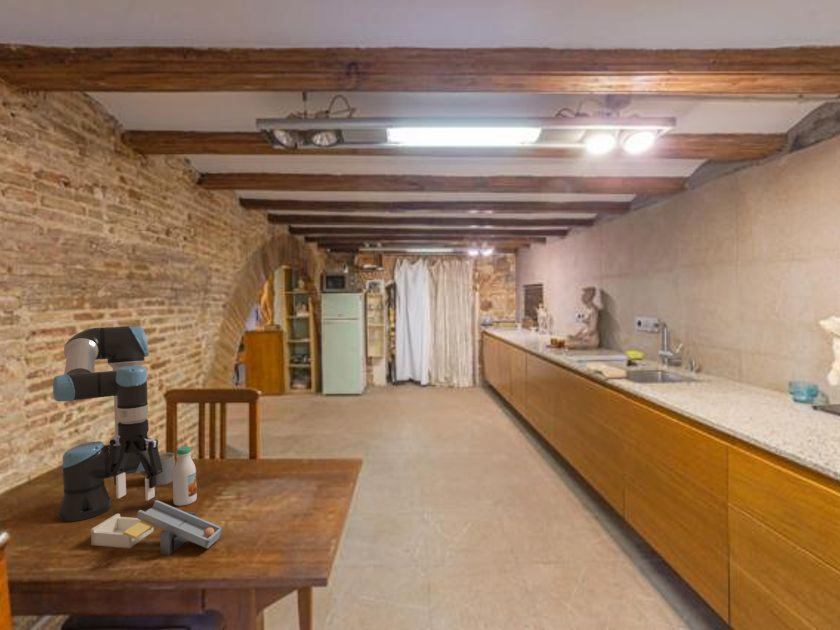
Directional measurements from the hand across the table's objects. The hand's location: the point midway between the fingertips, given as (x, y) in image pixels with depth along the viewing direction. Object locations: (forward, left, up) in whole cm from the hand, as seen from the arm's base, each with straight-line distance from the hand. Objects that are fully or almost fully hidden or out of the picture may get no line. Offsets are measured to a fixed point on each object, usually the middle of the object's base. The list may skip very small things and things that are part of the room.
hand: (135, 497), depth 133 cm
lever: (+8, +5, -13) cm, 16 cm away
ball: (+17, +8, -13) cm, 23 cm away
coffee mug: (-33, +50, -18) cm, 63 cm away
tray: (-12, +8, -17) cm, 22 cm away
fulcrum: (+8, +8, -17) cm, 21 cm away
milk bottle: (-9, +34, -18) cm, 39 cm away
